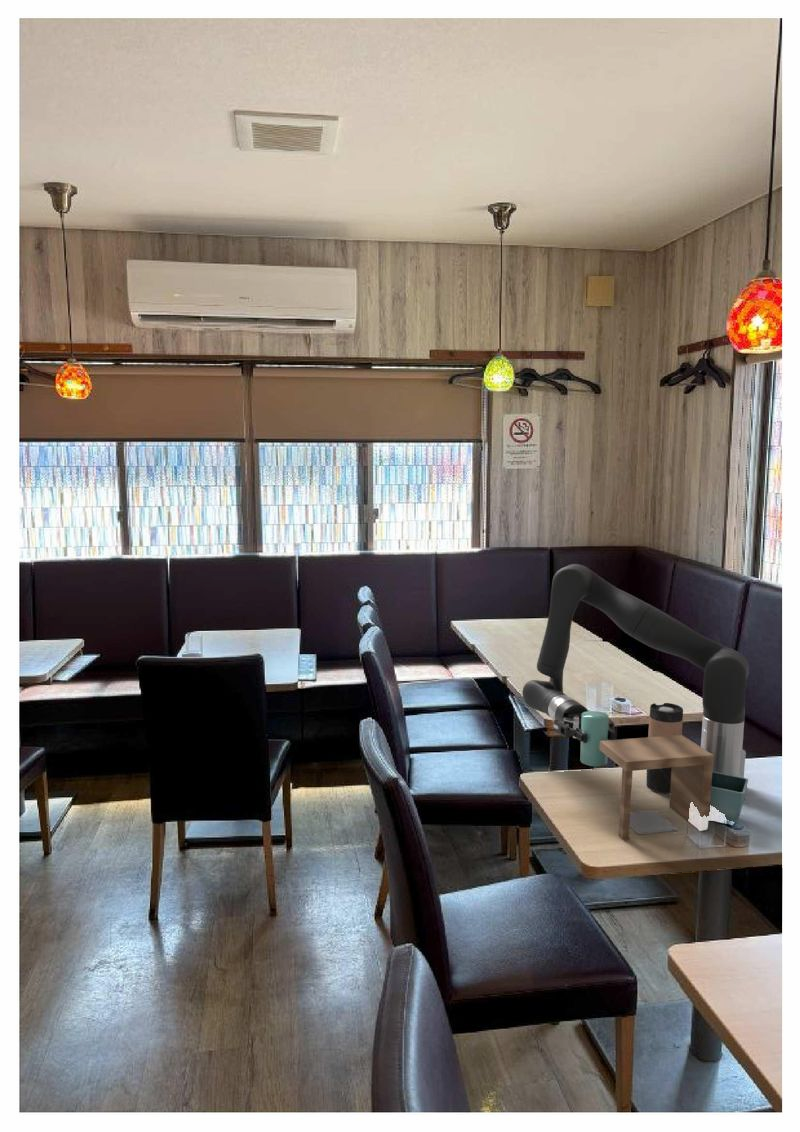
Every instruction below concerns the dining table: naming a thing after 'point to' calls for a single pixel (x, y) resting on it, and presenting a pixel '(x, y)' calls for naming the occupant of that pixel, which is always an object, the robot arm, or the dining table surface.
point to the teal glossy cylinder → (594, 737)
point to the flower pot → (728, 794)
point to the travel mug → (663, 724)
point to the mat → (649, 822)
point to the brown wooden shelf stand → (664, 752)
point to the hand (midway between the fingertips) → (599, 737)
